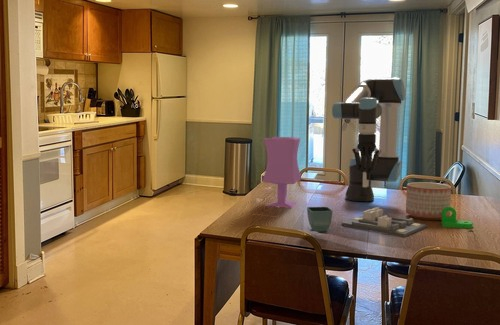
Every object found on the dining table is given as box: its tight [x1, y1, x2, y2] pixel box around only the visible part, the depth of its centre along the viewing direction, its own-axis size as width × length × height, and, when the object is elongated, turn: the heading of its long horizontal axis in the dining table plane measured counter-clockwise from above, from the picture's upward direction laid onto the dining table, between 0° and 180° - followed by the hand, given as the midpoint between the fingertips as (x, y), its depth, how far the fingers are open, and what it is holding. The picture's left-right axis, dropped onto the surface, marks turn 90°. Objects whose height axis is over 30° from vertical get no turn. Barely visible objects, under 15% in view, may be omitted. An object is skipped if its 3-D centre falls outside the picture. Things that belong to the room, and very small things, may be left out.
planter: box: [405, 181, 452, 221], centre depth 220 cm, size 19×19×15 cm
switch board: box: [340, 215, 428, 238], centre depth 201 cm, size 28×22×3 cm
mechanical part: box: [441, 205, 474, 229], centre depth 203 cm, size 12×6×8 cm, turn 75°
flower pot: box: [306, 206, 334, 233], centre depth 193 cm, size 9×9×9 cm
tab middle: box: [362, 208, 376, 221], centre depth 206 cm, size 4×4×5 cm
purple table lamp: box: [262, 136, 302, 209], centre depth 241 cm, size 16×16×35 cm
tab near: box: [378, 214, 392, 228], centre depth 194 cm, size 4×4×5 cm
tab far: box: [371, 206, 384, 218], centre depth 211 cm, size 4×4×5 cm
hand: (365, 186), depth 211 cm, fingers closed
